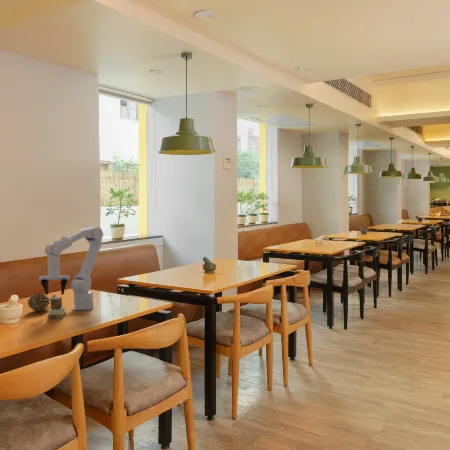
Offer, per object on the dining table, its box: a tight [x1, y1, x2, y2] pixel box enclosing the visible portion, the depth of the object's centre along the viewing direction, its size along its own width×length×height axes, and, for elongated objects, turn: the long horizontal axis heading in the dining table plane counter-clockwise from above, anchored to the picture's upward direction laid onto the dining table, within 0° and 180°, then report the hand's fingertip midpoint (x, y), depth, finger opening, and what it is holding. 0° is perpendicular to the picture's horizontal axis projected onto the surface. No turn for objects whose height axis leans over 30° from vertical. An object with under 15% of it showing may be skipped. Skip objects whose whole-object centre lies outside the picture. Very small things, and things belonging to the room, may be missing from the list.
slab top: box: [48, 306, 66, 315], centre depth 239 cm, size 6×6×2 cm
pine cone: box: [26, 292, 57, 312], centre depth 255 cm, size 22×10×10 cm, turn 172°
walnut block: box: [50, 296, 63, 309], centre depth 238 cm, size 4×4×5 cm
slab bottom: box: [47, 310, 67, 320], centre depth 239 cm, size 7×7×2 cm
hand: (54, 294), depth 243 cm, fingers open, 7 cm apart
